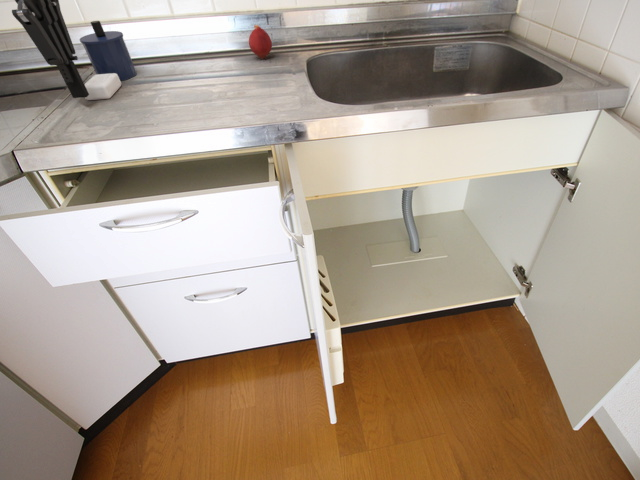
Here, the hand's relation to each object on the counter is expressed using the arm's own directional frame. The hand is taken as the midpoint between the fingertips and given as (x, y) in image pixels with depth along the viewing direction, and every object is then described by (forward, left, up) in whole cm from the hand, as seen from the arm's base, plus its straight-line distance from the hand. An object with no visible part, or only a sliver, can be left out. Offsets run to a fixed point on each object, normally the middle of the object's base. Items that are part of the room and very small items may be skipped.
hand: (81, 96), depth 82 cm
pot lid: (-15, +13, +6) cm, 21 cm away
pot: (-15, +13, -3) cm, 20 cm away
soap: (-6, +6, -3) cm, 9 cm away
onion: (+4, +44, -3) cm, 45 cm away
